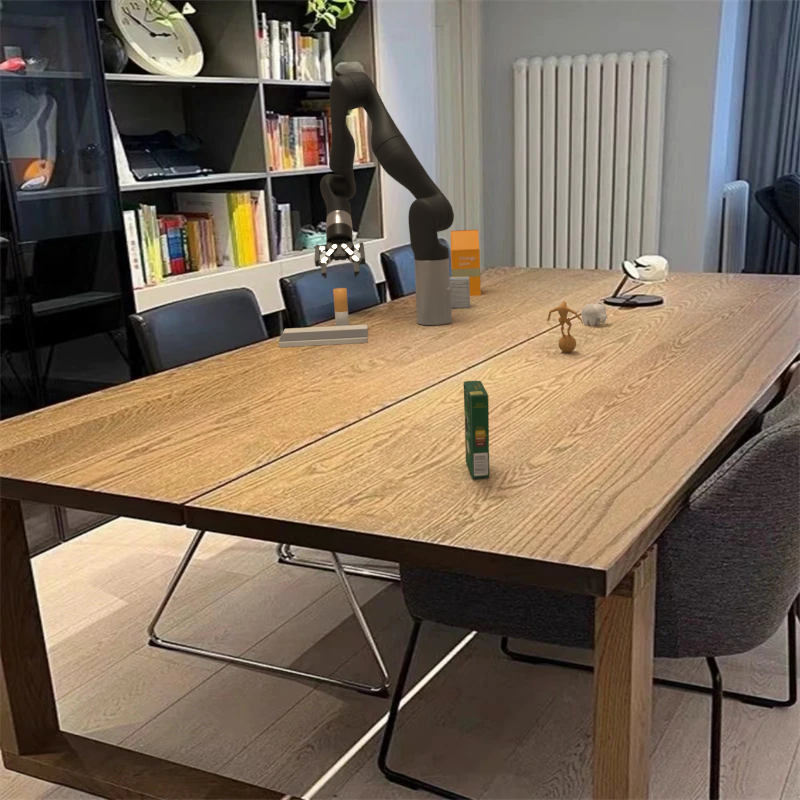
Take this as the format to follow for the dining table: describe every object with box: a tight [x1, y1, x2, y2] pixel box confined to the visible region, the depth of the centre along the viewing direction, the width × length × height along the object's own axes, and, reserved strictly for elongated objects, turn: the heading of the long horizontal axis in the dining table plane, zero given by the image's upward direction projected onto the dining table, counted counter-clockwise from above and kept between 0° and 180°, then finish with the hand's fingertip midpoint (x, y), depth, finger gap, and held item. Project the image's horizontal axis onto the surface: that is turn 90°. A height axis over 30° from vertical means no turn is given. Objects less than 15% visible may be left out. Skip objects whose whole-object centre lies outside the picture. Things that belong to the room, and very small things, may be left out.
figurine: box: [547, 301, 584, 353], centre depth 216 cm, size 8×6×12 cm
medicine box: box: [450, 276, 471, 309], centre depth 281 cm, size 8×4×9 cm, turn 84°
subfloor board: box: [278, 324, 369, 348], centre depth 248 cm, size 22×18×1 cm
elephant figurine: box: [580, 300, 609, 327], centre depth 246 cm, size 7×8×6 cm
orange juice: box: [450, 229, 482, 297], centre depth 302 cm, size 8×9×20 cm
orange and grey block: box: [332, 287, 350, 326], centre depth 262 cm, size 4×4×10 cm
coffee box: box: [463, 380, 490, 480], centre depth 143 cm, size 8×3×13 cm, turn 3°
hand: (340, 275), depth 269 cm, fingers open, 8 cm apart
